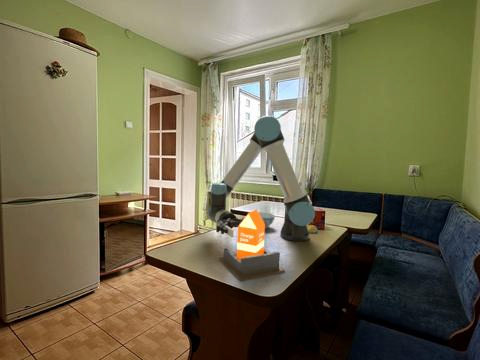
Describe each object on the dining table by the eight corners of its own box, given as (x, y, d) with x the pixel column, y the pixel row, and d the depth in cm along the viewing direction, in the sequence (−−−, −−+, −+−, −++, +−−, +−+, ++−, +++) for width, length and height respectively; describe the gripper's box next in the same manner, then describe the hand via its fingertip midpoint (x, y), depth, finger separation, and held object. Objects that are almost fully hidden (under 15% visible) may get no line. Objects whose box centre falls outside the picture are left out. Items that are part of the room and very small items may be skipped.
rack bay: (218, 259, 101) (218, 242, 100) (256, 253, 109) (257, 237, 108) (240, 281, 83) (241, 261, 82) (284, 272, 91) (285, 254, 91)
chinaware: (278, 226, 155) (278, 214, 154) (268, 232, 142) (268, 218, 141) (256, 223, 163) (256, 211, 162) (245, 227, 150) (245, 215, 149)
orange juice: (236, 264, 94) (238, 211, 92) (245, 256, 102) (247, 208, 100) (255, 269, 90) (258, 214, 89) (263, 260, 98) (266, 210, 97)
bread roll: (303, 228, 154) (303, 222, 154) (317, 231, 149) (318, 224, 149) (298, 231, 147) (299, 224, 147) (314, 234, 142) (314, 227, 142)
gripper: (249, 225, 121) (274, 237, 102) (199, 229, 110) (218, 245, 91) (250, 209, 121) (275, 219, 102) (200, 213, 109) (218, 224, 90)
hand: (248, 231), depth 96 cm, fingers open, 13 cm apart
